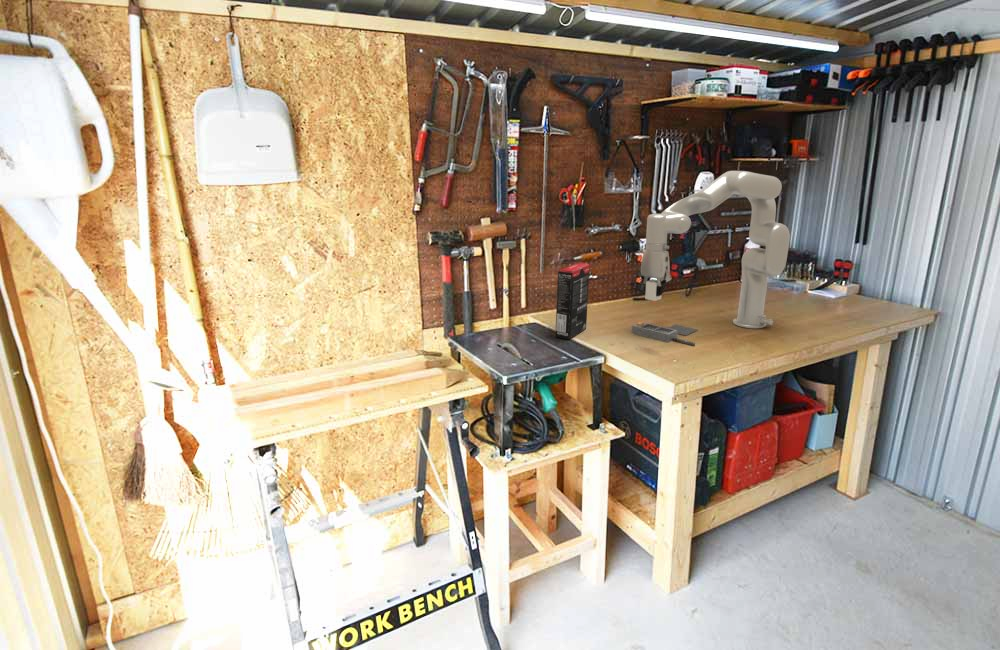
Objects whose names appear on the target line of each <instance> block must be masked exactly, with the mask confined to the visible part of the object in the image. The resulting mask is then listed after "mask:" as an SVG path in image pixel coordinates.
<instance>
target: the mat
mask: <svg viewBox="0 0 1000 650" xmlns="http://www.w3.org/2000/svg"><path fill="white" fill-rule="evenodd" d="M667 328H670V329H674V330H678V336H679V335H680V336H683V337H687V336H689V335H691V334H693V332H694V333H696V332H698V331H699V329H698V328H693V327H689V326H685V325H679V324H673V325H670V326H669V327H667ZM697 330H698V331H697ZM695 331H696V332H695Z"/></svg>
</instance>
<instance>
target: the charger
mask: <svg viewBox="0 0 1000 650" xmlns="http://www.w3.org/2000/svg"><path fill="white" fill-rule="evenodd" d="M657 286H658V281H657V279H655V278H654V279H650V280H649V281H646V293H645V292H644V297H645V298H644V299H645V300H649V301H653V302H656V301H659V300H661V299H662V295H660V296H656V290H657Z"/></svg>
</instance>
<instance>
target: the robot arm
mask: <svg viewBox="0 0 1000 650" xmlns="http://www.w3.org/2000/svg"><path fill="white" fill-rule="evenodd" d="M782 186H783V185H782V182H781V181H780V179H779V178H777V176H773V175H767V174H762V173H756V172H752V171H746V170H728V171H726V172H724V173H722V174H721V175H720V176H718V177H717V178H715V179H714V180H713V181H712V182H710V183H709V184H708V185H706V186H705V187H703V188H702V189H700V190H699V191H697V192H695V193H692V194H690V195H688V196H686V197H684V198H682V199H679V200H678V201H676V202H674V203H672V204H671V205H669V206H668V207H667V208H665V209H664V210H663V211H662V212H661V213H652V214H649V215H648V216H647V217H646V234H645V235H646V236H645V249H644V251H643V253H642V257H641V263H640V264H641V265H640V269H639V271H638V272H637V276H638V277H639V278H640V279H641V280H642V284H644V294H645V293H646V281H649V280H652V279H651V278H654V279H656V280H657V281H658V286H657V290H656V296H660V295H662V294H663V290H664V286H665V285H666V283H668V282H669V281H671V280H672V278H673V277H672V275H671V273H670V267H671V266H670V265H671V264H670V256H669V255H670V254H669V249H670V245H668V234H678V235H679V234H684V233H686V232H688V231H689V229H690V228H691V227H692V221H691V218H690V216H693V215H695V214H696V215H697V214H701V213H706V212H710V211H712V210H714V209H716V208H717V207H718V206H719V205H721V204H722V203H724V202H725V201H726V200H728V199H729V198H730V197H732V196H733V195H739V196H745V198H747V199H748V202H749V203H750V206H751V217H750V226H749V232H748V233H749V234H748V238H749V240H750V242H751V243H752V244H754V245H758V246H762V247H765V248H761V247H751V248H749V249H746V250H745V252H744V253H743V255H742V257H741V273H742V274H741V275H742V276H741V287H740V294H739V302H738V310H737V317H735V318H734V319H732V323H733V325H735V326H738V327H741V328H744V329H745V328H746V329H762V328H765V327H767V325H769V326H773V323H774V320H773V319H772V318H768V317H766V316H767V315H766V314H764V312H765V311H764V310H765V304H766V297H767V288H768V277H777V276H779V275H781V274H782V273H783V271H784V270H785V267H786V265H787V260H788V259H787V258H788V254H789V248H790V240H791V234H790V230H789V228H788V226H786V225H785V224H783V223H780V222H776V217H777V216H776V213H777V204H776V200H775V199H776V198H777V197H778V196H779V195H780V194H781V192H782V190H783V189H782V188H783V187H782Z"/></svg>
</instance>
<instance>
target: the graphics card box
mask: <svg viewBox="0 0 1000 650" xmlns="http://www.w3.org/2000/svg"><path fill="white" fill-rule="evenodd" d="M590 269H591V268H590V263H585V262H577V263H574V264H572V265H569V266H567V267H564V268H562V269H559V270H557V285H556V286H557V288H556V289H557V291H556V293H557V294H556V314H555V338H560V339H565V340H571V339H573V338H575V337H576V336H577V335H578V334H581V332H583V331H585V330H586V329H587V321H588V319H587V318H588V304H589V303H588V302H589V284H590V281H589V280H590Z"/></svg>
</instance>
